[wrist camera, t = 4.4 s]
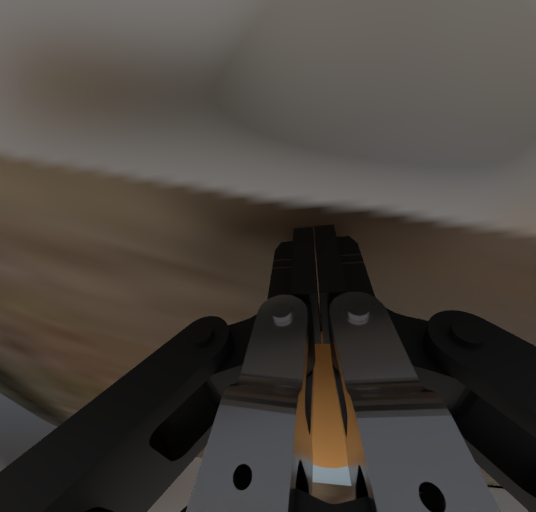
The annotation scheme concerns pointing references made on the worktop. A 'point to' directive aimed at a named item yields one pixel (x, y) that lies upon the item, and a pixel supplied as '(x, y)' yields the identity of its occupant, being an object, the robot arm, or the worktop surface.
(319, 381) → the ball
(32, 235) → the worktop surface
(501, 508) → the milk carton
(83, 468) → the robot arm
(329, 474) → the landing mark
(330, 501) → the backstop strip
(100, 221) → the worktop surface
